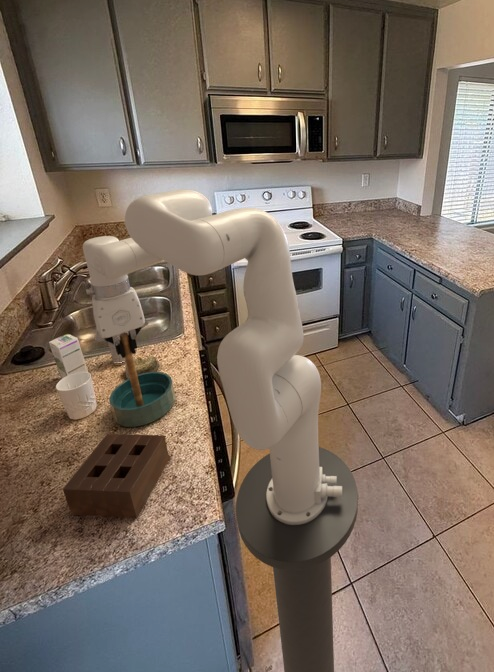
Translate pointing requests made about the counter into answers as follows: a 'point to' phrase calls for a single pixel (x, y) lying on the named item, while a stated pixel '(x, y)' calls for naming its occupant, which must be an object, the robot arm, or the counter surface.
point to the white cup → (77, 395)
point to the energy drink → (114, 354)
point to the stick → (131, 370)
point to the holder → (117, 476)
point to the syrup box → (68, 355)
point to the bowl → (154, 395)
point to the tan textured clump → (144, 365)
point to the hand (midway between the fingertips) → (127, 353)
